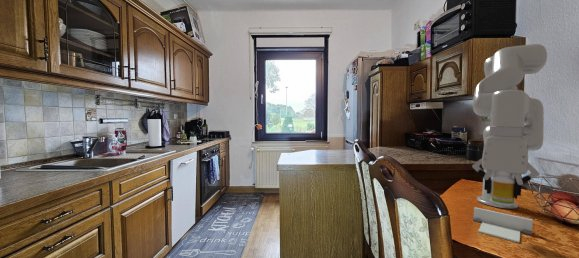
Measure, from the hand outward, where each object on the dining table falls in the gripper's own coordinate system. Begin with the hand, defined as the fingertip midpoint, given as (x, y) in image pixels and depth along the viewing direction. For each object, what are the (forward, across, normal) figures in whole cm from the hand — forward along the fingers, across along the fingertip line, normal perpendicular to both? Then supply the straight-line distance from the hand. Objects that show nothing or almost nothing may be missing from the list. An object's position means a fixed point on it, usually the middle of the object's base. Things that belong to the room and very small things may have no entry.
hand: (501, 194), depth 75 cm
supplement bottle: (+3, 0, 0) cm, 3 cm away
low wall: (+11, 0, -7) cm, 13 cm away
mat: (+11, 0, 0) cm, 11 cm away
